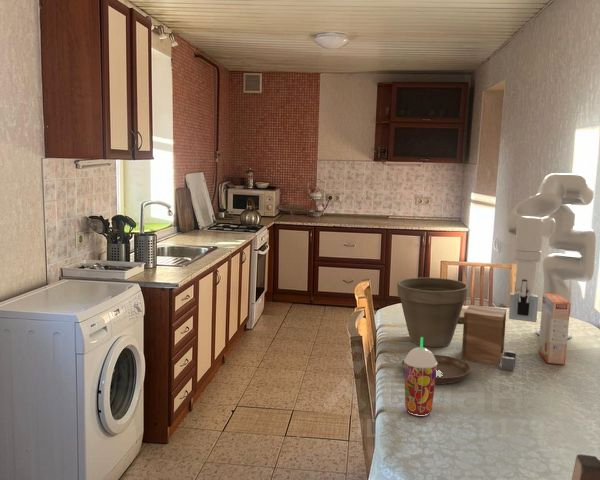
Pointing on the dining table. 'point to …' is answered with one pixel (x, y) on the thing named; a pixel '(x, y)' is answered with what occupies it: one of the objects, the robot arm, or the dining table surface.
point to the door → (532, 308)
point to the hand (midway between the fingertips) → (523, 313)
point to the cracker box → (554, 328)
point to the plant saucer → (449, 369)
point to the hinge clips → (508, 361)
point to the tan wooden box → (483, 334)
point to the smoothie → (419, 380)
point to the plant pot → (432, 308)
